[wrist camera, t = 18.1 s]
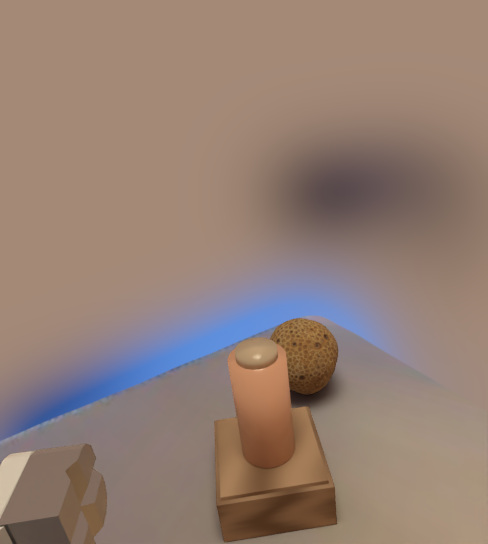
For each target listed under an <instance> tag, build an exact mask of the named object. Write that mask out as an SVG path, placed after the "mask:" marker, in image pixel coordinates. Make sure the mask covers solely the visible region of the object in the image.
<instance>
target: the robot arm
mask: <svg viewBox="0 0 488 544" xmlns="http://www.w3.org/2000/svg"><path fill="white" fill-rule="evenodd" d="M95 460H96V456H95V454H94V451H93V449H92V446H91V445H89V444H79V445H72V446H64V447H56V448H49V449H41V450H36V451H31V452H23V453H15V454H10V455H9V456H8V457H6V458H5V459H4V460H3V461H2V463H1V465H0V544H96V543H95V540H94V536H95V535H96V534H97V533H98V532H99V531H100V529H101V528H102V527H103V525H104V520H105V516H106V508H107V492H106V486H105V482H104V479H103V476H102V474H101V473H99V472H98V471H96V470H95V469H93V467H94V463H95Z"/></svg>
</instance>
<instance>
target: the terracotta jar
mask: <svg viewBox="0 0 488 544" xmlns="http://www.w3.org/2000/svg"><path fill="white" fill-rule="evenodd" d="M228 366H229V372H230V378H231V385H232V391H233V397H234V403H235V409H236V415H237V421H238V428H239V434H240V440H241V446H242V452H243V455H244V457H245V459H246V460H247V461H248V462H249V463H251V464H252V465H254V466H257V467H261V468H273V467H277V466H280V465H282V464H284V463H286V462H287V461H288V460H289V459H290V458H291V457H292V456H293V454H294V451H295V437H294V427H293V417H292V407H291V397H290V387H289V377H288V367H287V357H286V352H285V350H284V349H283V348H282V347H281V346H280V345H278V344H276V343H275V342H274V341H272V340H270V339H267V338H251V339H247V340H245V341H243V342H241V343H240V344H238V345H237V346H236V348H235V349H234V350H233V351H232V352H231V353H230V355H229V357H228Z"/></svg>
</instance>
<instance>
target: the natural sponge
mask: <svg viewBox="0 0 488 544" xmlns="http://www.w3.org/2000/svg"><path fill="white" fill-rule="evenodd" d="M270 340H272V341H274V342H275V343H276V344H278V345H280V346H281V347H282V348H283V349H284V350H285V352H286V357H287V367H288V377H289V387H290V390H293V391H296V392H298V393H301V394H313V393H315V392H317V391H319V390H321V389H322V388H323V387H325V386H326V384H327V383H328V382H329V380H330V378H331V376H332V374H333V372H334V369H335V366H336V362H337V358H338V346H337V342H336V340H335V338H334V336H333V335H332V334H331V332H330V331H329V330H328V329H327V328H326V327H325V326H323V325H322V324H320V323H318V322H316V321H312V320H307V319H300V318H299V319H292V320H289V321H286V322H284V323H283V324H281V325H280V326H278V327H277V328H276V330H275V331H274V332H273V334H272V336H271V338H270Z"/></svg>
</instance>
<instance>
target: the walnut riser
mask: <svg viewBox="0 0 488 544" xmlns="http://www.w3.org/2000/svg"><path fill="white" fill-rule="evenodd" d="M292 417H293V427H294V437H295V451H294V454H293V456H292V457H291V458H290V459H289V460H288V461H287V462H286V463H284V464H282V465H280V466H277V467H273V468H261V467H257V466H254V465H252V464H251V463H249V462H248V461H247V460H246V459H245V457H244V455H243V452H242V446H241V440H240V434H239V428H238V421H237V417H235V418H229V419H222V420H218V421H214V425H215V464H216V502H217V510H218V515H219V519H220V524H221V529H222V533H223V538H224V542H229V541H235V540H241V539H247V538H254V537H260V536H266V535H272V534H278V533H284V532H290V531H297V530H303V529H309V528H315V527H321V526H327V525H333V524H337V520H336V502H335V487H334V483H333V480H332V477H331V474H330V471H329V468H328V465H327V462H326V459H325V455H324V452H323V449H322V446H321V443H320V440H319V437H318V434H317V430H316V427H315V424H314V421H313V418H312V415H311V412H310V409H309V406H308V407H299V408H293V409H292Z"/></svg>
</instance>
